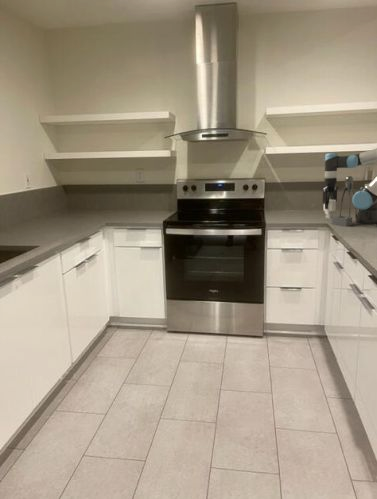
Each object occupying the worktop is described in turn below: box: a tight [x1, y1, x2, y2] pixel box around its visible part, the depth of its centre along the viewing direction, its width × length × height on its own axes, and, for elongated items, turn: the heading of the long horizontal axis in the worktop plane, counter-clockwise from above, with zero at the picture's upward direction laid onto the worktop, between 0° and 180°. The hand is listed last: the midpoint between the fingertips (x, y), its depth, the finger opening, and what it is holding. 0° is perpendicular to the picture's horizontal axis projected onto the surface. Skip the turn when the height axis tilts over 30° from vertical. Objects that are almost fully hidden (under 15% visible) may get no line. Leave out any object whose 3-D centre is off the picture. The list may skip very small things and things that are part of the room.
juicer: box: [338, 175, 358, 218], centre depth 257 cm, size 10×11×30 cm
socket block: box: [331, 215, 353, 227], centre depth 245 cm, size 6×10×5 cm, turn 35°
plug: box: [323, 199, 337, 219], centre depth 251 cm, size 4×6×12 cm
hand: (329, 213), depth 252 cm, fingers closed on plug, 4 cm apart
